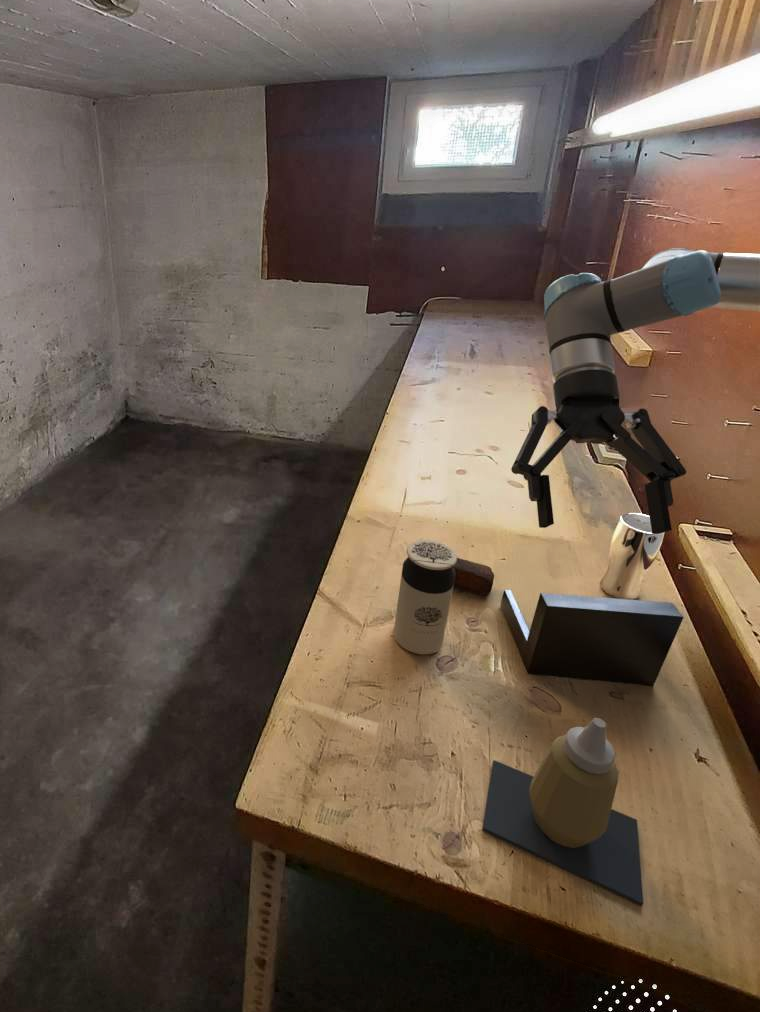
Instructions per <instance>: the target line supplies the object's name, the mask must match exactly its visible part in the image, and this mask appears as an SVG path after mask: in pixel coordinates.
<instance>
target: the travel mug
mask: <svg viewBox="0 0 760 1012" xmlns="http://www.w3.org/2000/svg"><path fill="white" fill-rule="evenodd" d="M406 556H407V557H406V558H405V559H404V561H403V562H402V569H401V576H400V584H399V590H398V598H397V603H396V612H395V618H394V627H393V637H394V639H395V641H396V642H397V644H398V645H399V646H400V647H402V648H403V649H405V650H406V651H409V652H410V653H413V654H418V655H432V654H435V653H436V652H438V651H439V650H441V648H442V646H443V642H444V638H445V632H446V628H447V623H448V617H449V611H450V606H451V601H452V596H453V591H454V587H453V586H454V581H455V576H456V573H455V570H454V568H453V566H454V565H455V563H456V562H457V558H458V556H457V554H456V552H455V551H454V550H453V549H452V547H450V546H449V545H447V544H446V543H443V542H441V541H438V540H433V539H418V540H414V541H412V542H410V543H409V544H408V545H407V547H406Z"/></svg>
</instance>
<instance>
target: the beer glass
mask: <svg viewBox="0 0 760 1012" xmlns="http://www.w3.org/2000/svg"><path fill="white" fill-rule="evenodd" d="M665 533H666V532H664V533H660V534H652V529H651V522H650V516H649V514H648V515H647V514H644V513H638V512H626V513H624V514H622V515H621V516H620V518H619V520H618V522H617V525H616V527H615V529H614V531H613V534H612V537H611V541H610V545H609V546H610V547H609V555H608V567H607V570H606V572H605V574H604V575H603V577H602V578H601V580H600V582H599V586H600V588H601V590H602V591H603V592H605V593H606V594H607V595H608V596H611V597H612V598H616V599H629V600H637V598H639V597H640V591H641V583H642V580H643V578H644V576H645V575H646V573H647V572H648V570H649V569H650V567H651V566H652V565H653V563H654V562H655V560H656V558H657V557H658V555H659V552H660V550H661V547H662V544H663V540H664V536H665Z"/></svg>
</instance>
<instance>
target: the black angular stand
mask: <svg viewBox="0 0 760 1012" xmlns="http://www.w3.org/2000/svg"><path fill="white" fill-rule="evenodd" d="M539 593H540V594H539V597H538V600H537V603H536V607H535V611H534V614H533V618H532V621H531V625H530V628H529V627H528V625H527V623H526V619H525V618H524V616H523V614H522V611H521V609H520V608H519V607H520V606H519V605H518V602H517V600H516V598H515V596H514V593H513V591H512V589H504V590H503V593H502V597H501V601H500V605H499V608H500V610H501V612H502V615H503V617H504V620H505V622H506V625H507V627H508V630H509V632H510V635H511V637H512V640H513V642H514V645H515V647H516V649H517V652H518V654H519V657H520V660H521V662H522V664H523V666H524V669H525V672H526V674H527V675H533V676H542V677H554V678H563V679H574V680H585V681H595V682H604V683H612V684H613V683H616V684H624V685H634V686H643V687H644V686H646V687H654V686H655V684H656V683H657V679H658V677H659V675H660V672H661V670H662V668H663V665H664V663H665V661H666V658H667V656H668V654H669V652H670V649H671V647H672V645H673V643H674V641H675V639H676V636H677V634H678V631H679V629H680V627H681V624H682V623H683V620H684V616H683V614H682V613H681V612H680V610H678V608H677V606H676V605H675V604H674V603H673V602H667V601H653V600H642V599H641V600H639V599H634V600H629V599H618V598H615V597H607V596H606V597H600V596H590V595H588V596H587V595H575V594H562V593H549V592H539Z"/></svg>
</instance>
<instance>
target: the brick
mask: <svg viewBox="0 0 760 1012" xmlns="http://www.w3.org/2000/svg"><path fill="white" fill-rule="evenodd" d="M453 568H454V570H455V573H456V576H455V581H454V586H453V588H456V589H459V590H462V591H466V592H469V593H472V594H476V595H480V596H483V597H487V596H489V595H490V594H491V592H492V590H493V585H494V579H495V573H494V572H493V569H492V568H491V567H490V566H488V565H485V564H481V563H478V562H475V561H471V560H468V559H463V558H460V557H457V562H456V563H455V565H454V566H453Z"/></svg>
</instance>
